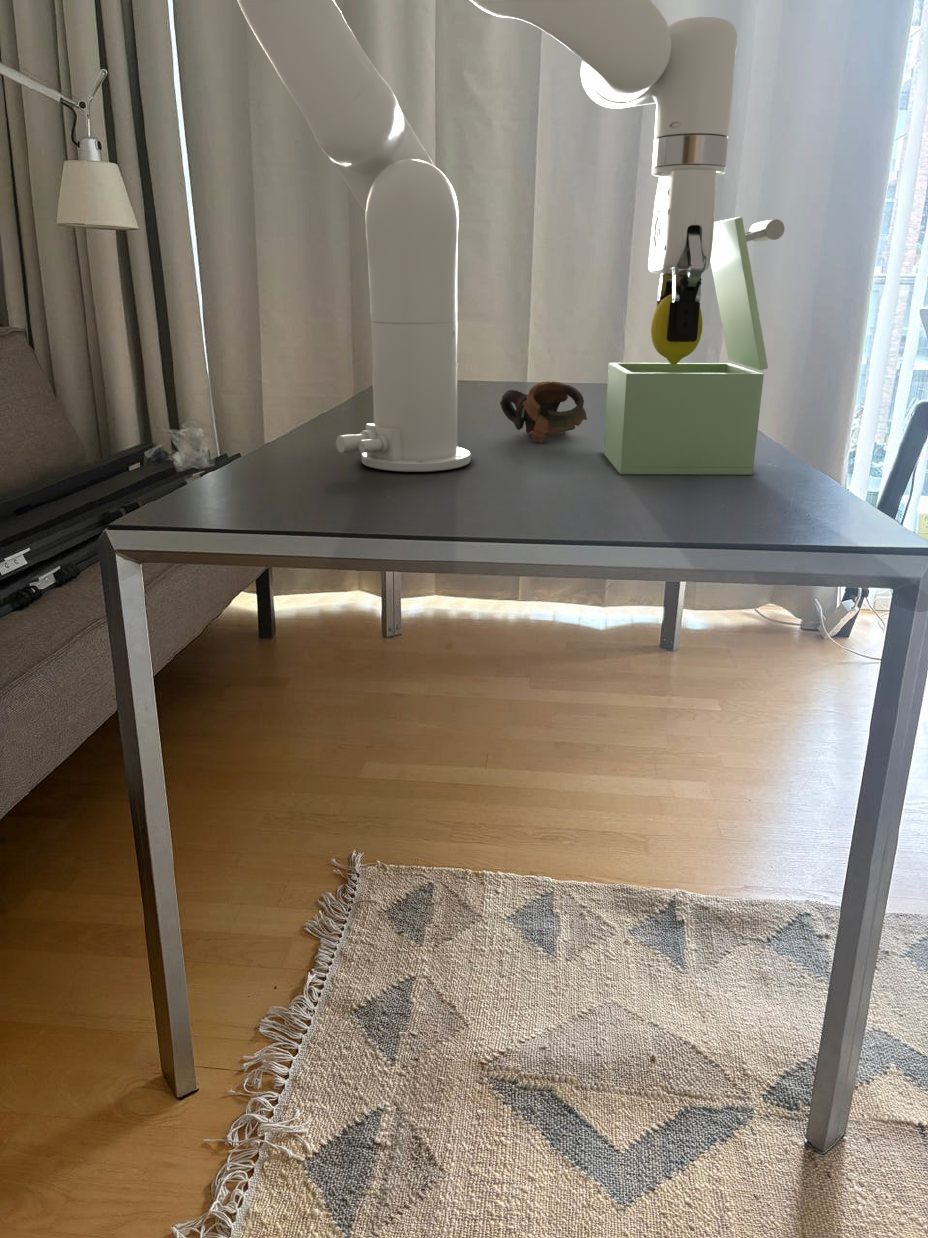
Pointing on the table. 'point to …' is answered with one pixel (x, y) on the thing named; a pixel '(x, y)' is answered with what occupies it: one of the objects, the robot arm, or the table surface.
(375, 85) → the robot arm
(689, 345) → the lemon
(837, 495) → the table surface
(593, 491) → the table surface
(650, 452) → the chest
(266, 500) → the table surface
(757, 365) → the lid
